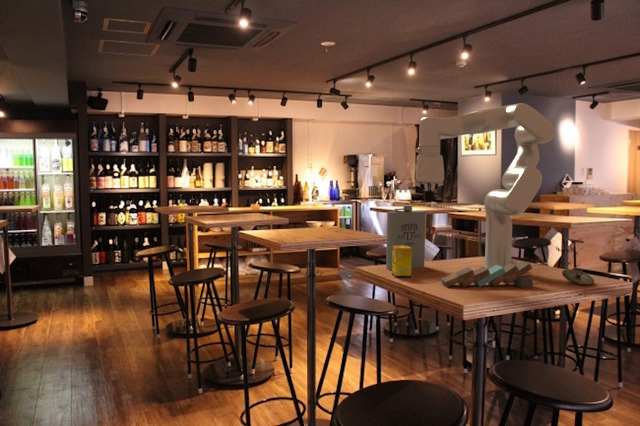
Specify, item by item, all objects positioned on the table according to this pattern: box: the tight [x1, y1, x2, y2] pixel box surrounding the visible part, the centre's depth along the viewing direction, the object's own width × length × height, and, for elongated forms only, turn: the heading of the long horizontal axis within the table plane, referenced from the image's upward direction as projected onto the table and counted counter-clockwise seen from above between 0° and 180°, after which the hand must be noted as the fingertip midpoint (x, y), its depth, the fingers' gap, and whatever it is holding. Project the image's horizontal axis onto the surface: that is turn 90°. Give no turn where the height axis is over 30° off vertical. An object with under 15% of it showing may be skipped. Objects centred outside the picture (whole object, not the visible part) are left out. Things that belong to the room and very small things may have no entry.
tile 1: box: [440, 267, 475, 288], centre depth 177 cm, size 2×5×10 cm
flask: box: [385, 204, 427, 271], centre depth 208 cm, size 17×5×25 cm, turn 117°
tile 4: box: [487, 263, 519, 288], centre depth 178 cm, size 2×5×10 cm
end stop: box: [511, 274, 534, 289], centre depth 179 cm, size 4×9×3 cm, turn 5°
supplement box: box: [391, 246, 412, 279], centre depth 192 cm, size 6×6×11 cm
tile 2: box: [457, 266, 491, 288], centre depth 177 cm, size 2×5×10 cm
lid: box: [561, 268, 595, 286], centre depth 183 cm, size 11×10×5 cm
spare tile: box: [473, 265, 506, 288], centre depth 178 cm, size 2×5×10 cm
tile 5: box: [502, 260, 533, 286], centre depth 179 cm, size 2×5×10 cm
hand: (428, 201), depth 193 cm, fingers closed
